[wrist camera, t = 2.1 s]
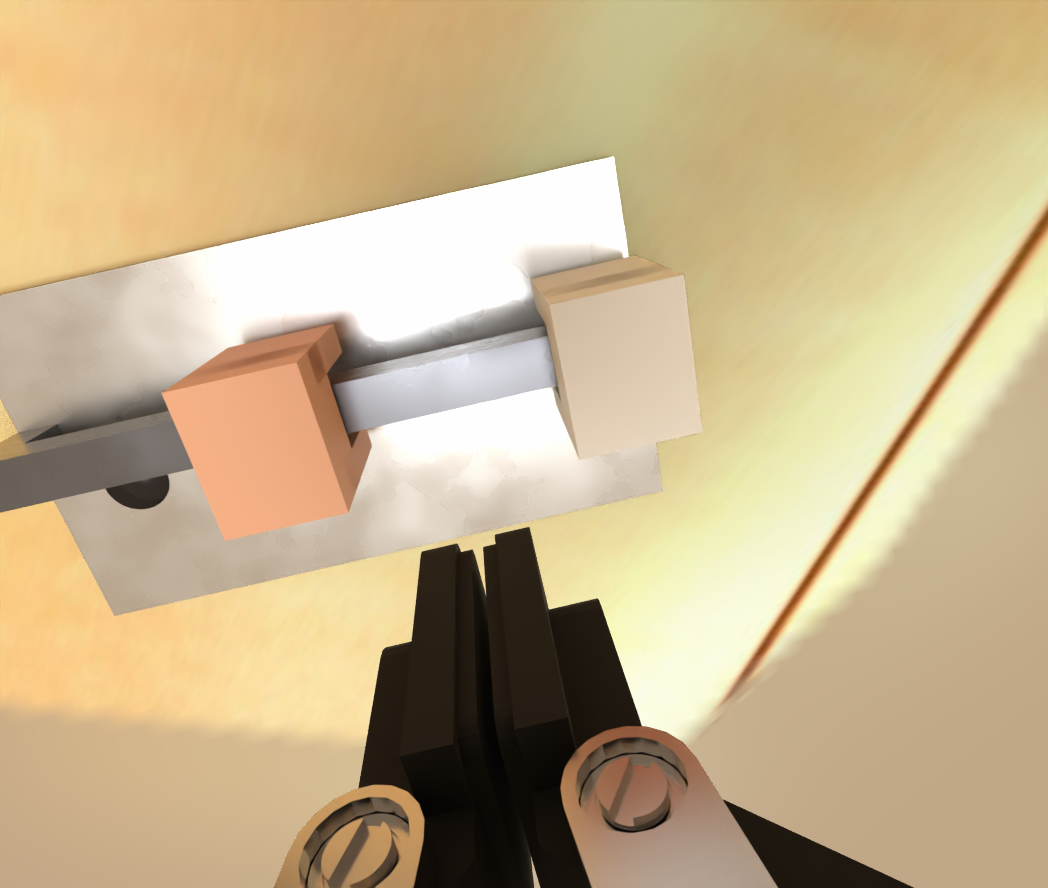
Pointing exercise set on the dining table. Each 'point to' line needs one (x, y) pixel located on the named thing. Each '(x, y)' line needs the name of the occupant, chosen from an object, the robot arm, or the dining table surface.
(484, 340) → the beam
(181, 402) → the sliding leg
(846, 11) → the dining table surface
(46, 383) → the bolt plate
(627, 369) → the fixed leg
